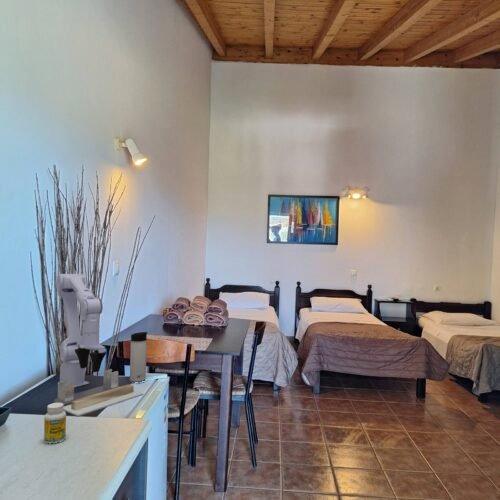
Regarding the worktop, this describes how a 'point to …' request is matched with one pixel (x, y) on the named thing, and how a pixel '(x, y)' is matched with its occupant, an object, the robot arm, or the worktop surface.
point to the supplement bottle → (55, 423)
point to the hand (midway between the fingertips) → (89, 369)
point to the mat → (102, 404)
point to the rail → (101, 397)
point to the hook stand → (68, 395)
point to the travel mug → (138, 357)
